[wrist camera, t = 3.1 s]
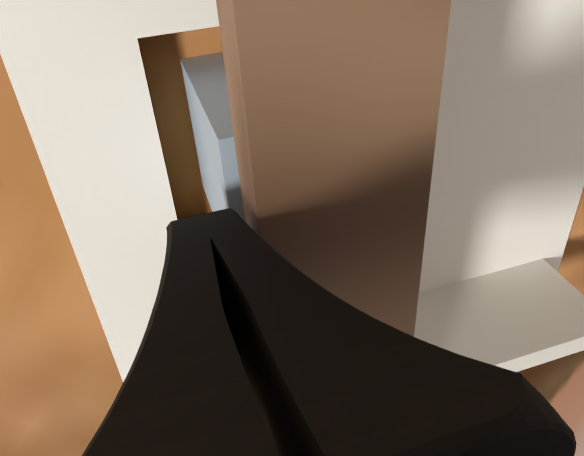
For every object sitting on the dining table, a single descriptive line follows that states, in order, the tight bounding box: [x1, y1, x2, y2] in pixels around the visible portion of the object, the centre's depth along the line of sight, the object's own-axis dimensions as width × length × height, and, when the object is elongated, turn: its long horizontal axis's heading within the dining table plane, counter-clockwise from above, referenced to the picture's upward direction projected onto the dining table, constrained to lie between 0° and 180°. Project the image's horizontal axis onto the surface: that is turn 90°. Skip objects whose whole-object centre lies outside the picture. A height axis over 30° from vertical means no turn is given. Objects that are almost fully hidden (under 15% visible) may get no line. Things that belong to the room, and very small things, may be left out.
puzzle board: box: [0, 0, 584, 382], centre depth 15 cm, size 18×18×5 cm
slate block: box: [180, 52, 245, 221], centre depth 14 cm, size 4×4×5 cm
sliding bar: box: [216, 0, 451, 337], centre depth 12 cm, size 18×4×1 cm, turn 4°
